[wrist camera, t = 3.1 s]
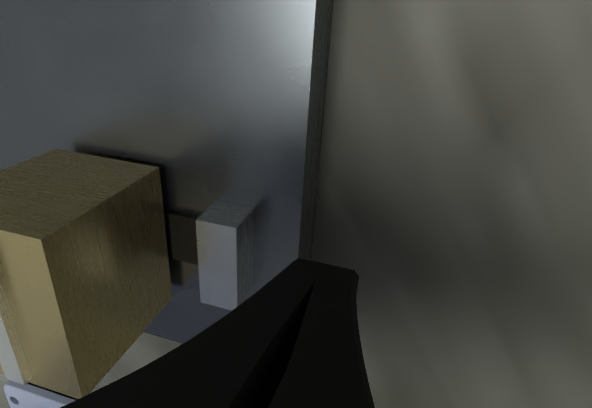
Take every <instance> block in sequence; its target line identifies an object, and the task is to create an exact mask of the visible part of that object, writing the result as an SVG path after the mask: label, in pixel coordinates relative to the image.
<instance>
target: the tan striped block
mask: <svg viewBox="0 0 592 408" xmlns="http://www.w3.org/2000/svg"><path fill="white" fill-rule="evenodd" d="M171 299H172V290H171V280H170V270H169V260H168V250H167V240H166V230H165V220H164V210H163V200H162V190H161V180H160V170H159V167H155V166H150V165H144V164H139V163H133V162H128V161H122V160H116V159H111V158H105V157H100V156H94V155H89V154H83V153H77V152H72V151H66V150H61V149H54V150H51V151H49V152H46V153H44V154H41V155H39V156H36V157H34V158H31V159H29V160H26V161H24V162H21V163H19V164H16V165H14V166H11V167H9V168H6V169H4V170H1V171H0V373H3V374H4V375H5V377H6V379H8V380H11V381H14V382H17V383H20V384H23V385H26V384H27V383H28V382H30V383H32V384H35V385H38V386H41V387H44V388H47V389H50V390H53V391H56V392H59V393H62V394H65V395H68V396H71V397H73V398H76V399H80V398H82V397H84V396H86V395H88V394H89V393H90V392H91V391H92V390H93V389H94V387H95V386H96V385H97V384H98V383H99V382H100V381H101V379H102V378H103V377H104V376H105V375H106V374H107V373H108V371H109V370H110V369H111V368H112V367H113V366H114V365H115V363H116V362H117V361H118V360H119V359H120V358H121V357H122V355H123V354H124V353H125V352H126V351H127V350H128V349H129V347H130V346H131V345H132V344H133V343H134V342H135V341H136V339H137V338H138V337H139V336H140V335H141V334H142V333H143V331H144V330H145V329H146V328H147V327H148V326H149V325H150V323H151V322H152V321H153V320H154V319H155V318H156V317H157V315H158V314H159V313H160V312H161V311H162V310H163V309H164V307H165V306H166V305H167V304H168V303H169V302H170V301H171Z"/></svg>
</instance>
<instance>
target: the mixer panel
mask: <svg viewBox="0 0 592 408" xmlns="http://www.w3.org/2000/svg"><path fill="white" fill-rule="evenodd" d="M332 7H333V0H0V171H1V170H4V169H6V168H9V167H11V166H14V165H16V164H19V163H21V162H24V161H26V160H29V159H31V158H34V157H36V156H39V155H41V154H44V153H46V152H49V151H51V150H54V149H61V150H66V151H72V152H77V153H83V154H89V155H94V156H100V157H105V158H111V159H116V160H122V161H128V162H133V163H139V164H144V165H150V166H155V167H159V170H160V180H161V190H162V200H163V210H164V220H165V230H166V240H167V250H168V260H169V270H170V280H171V290H172V299H171V301H170V302H169V303H168V304H167V305H166V306H165V307H164V309H163V310H162V311H161V312H160V313H159V314H158V315H157V317H156V318H155V319H154V320H153V321H152V322H151V323H150V325H149V326H148V327H147V328H146V329H145V330H144V331H143V332H145V333H149V334H152V335H156V336H160V337H163V338H167V339H170V340H174V341H177V342H181V343H185V342H186V341H188V340H190V339H191V338H193V337H194V336H196V335H197V334H199V333H200V332H202V331H203V330H204V329H206V328H207V327H209V326H210V325H212V324H213V323H215V322H216V321H218V320H219V319H221V318H222V317H224V316H225V315H226V314H228V313H229V312H231V311H232V310H233V309H235V308H236V307H237V306H239V305H240V304H241V303H242V302H244V301H245V300H246V299H248V298H249V297H250V296H252V295H253V294H254V293H256V292H257V291H258V290H259V289H261V288H262V287H263V286H264V285H265V284H267V283H268V282H269V281H270V280H272V279H273V278H274V277H275V276H276V275H278V274H279V273H280V272H281V271H282V270H283V269H285V268H286V267H287V266H288V265H289V264H291V263H292V262H293V261H294V260H296V259H298V258H300V259H305V260H310V261H311V250H312V239H313V227H314V216H315V204H316V193H317V181H318V169H319V158H320V146H321V135H322V123H323V111H324V100H325V88H326V77H327V65H328V53H329V42H330V30H331V19H332Z"/></svg>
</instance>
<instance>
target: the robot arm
mask: <svg viewBox="0 0 592 408" xmlns="http://www.w3.org/2000/svg"><path fill="white" fill-rule="evenodd" d="M358 280H359V276H358V274H357V273H356V272H355V270H351V269H346V268H342V267H337V266H333V265H328V264H323V263H319V262H314V261H310V260H305V259H300V258H298V259H296V260H294V261H293V262H292V263H291V264H289V265H288V266H287V267H286V268H285V269H283V270H282V271H281V272H280V273H279V274H278V275H276V276H275V277H274V278H273V279H272V280H270V281H269V282H268V283H267V284H265V285H264V286H263V287H262V288H261V289H259V290H258V291H257V292H256V293H254V294H253V295H252V296H250V297H249V298H248V299H246V300H245V301H244V302H242V303H241V304H240V305H239V306H237V307H236V308H235V309H233V310H232V311H231V312H229V313H228V314H226V315H225V316H224V317H222V318H221V319H219V320H218V321H216V322H215V323H213V324H212V325H210V326H209V327H207V328H206V329H204V330H203V331H202V332H200V333H199V334H197V335H196V336H194V337H193V338H191V339H190V340H188V341H186V342H185V343H183V344H182V345H180V346H178V347H177V348H175V349H173V350H172V351H170V352H168V353H167V354H165V355H163V356H162V357H160V358H158V359H156V360H154V361H153V362H151V363H149V364H147V365H146V366H144V367H142V368H140V369H138V370H137V371H135V372H133V373H131V374H129V375H127V376H125V377H123V378H121V379H119V380H117V381H115V382H113V383H111V384H109V385H107V386H105V387H103V388H100V389H98V390H96V391H94V392H92V393H90V394H88V395H86V396H84V397H82V398H80V399H78V400H74V399H71V398H68V397H65V396H62V395H59V394H56V393H53V392H50V391H47V390H44V389H42V388H39V387H36V386H33V385H30V384H26V385H23V384H20V383H17V382H14V381H11V380H10V381H9V382H8V383H6V384H5V385H4V392H5V395H6V397H7V400H8V403H9V405H10V408H375V407H374V403H373V399H372V395H371V391H370V387H369V382H368V378H367V374H366V369H365V364H364V359H363V354H362V348H361V342H360V335H359V328H358V320H357V306H356V293H357V286H358Z"/></svg>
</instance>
